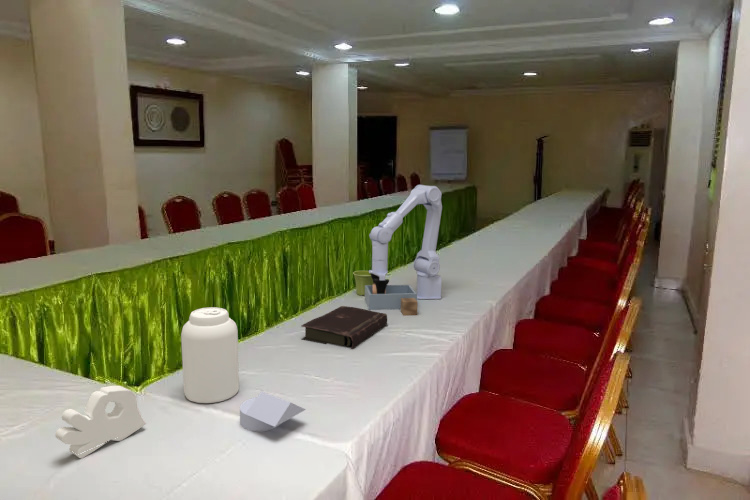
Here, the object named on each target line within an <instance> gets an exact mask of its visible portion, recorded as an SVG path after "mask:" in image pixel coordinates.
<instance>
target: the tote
mask: <svg viewBox="0 0 750 500" xmlns="http://www.w3.org/2000/svg"><path fill="white" fill-rule="evenodd" d="M372 287H373V285H365V295H364V302H365V304H366V306H367V310H370V311H373V310H375V311H376V310H401V298H415V299H416V301H417V302H418V299H417V291H416V290H414V287H412V286H411V284H387V286H386V294H372Z"/></svg>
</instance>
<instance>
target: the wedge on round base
mask: <svg viewBox="0 0 750 500" xmlns="http://www.w3.org/2000/svg"><path fill="white" fill-rule="evenodd" d="M304 411H306V408H303V407H302V406H299V405H298V404H294V403H292V402H290V401H288V400H286V399H282V398H280V397H278V396H275V395H273V394H269V393H268V392H264V391H262V390H261V391H260V393H259V394H258V395H257V396H255V397H252V398H249V399H246V400H245V401H243V402H242V403H241V404H240V406H239V423H240V426H241V427H242V428H243V429H244V430H247V431H252V432H267V431H271V430H273V429H275V428H278V427H279V426H280V425H282V424H283V423H285V422H286V421H288V420H290V419H292V418H293V417H296V416H297V415H298V414H301V413H302V412H304Z"/></svg>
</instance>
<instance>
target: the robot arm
mask: <svg viewBox="0 0 750 500" xmlns="http://www.w3.org/2000/svg"><path fill="white" fill-rule="evenodd" d="M442 204H443V203H442V191H441V190H440V189H439V187H437V186H436V185H424V184H417V185H416V186H414V188H413V189H412V190H411V191H410V194H409V195H408V197H407V198H406V199H405V200H404V202H403V203H402V204H401V205H400V206H399V208H398V209H397V210H396V211H391V212H388V213H387V214H386V217H385V218H384V219H383V220H382V221H381V222H379V224H378V226H374V227H373V228H372V229H371V231H370V233H369V236H368V237H369V239H370V241H371V245H372V247H371V248H372V249H371V251H372V252H371V253H372V254H371V256H372V257H371V269H369V270H368V271H369V273H371V274H370V275H371V277H372V280H373V284H374V283H375V285H376V290H377V294H385V290H386V286H387V285H389V283H390V279H388V278H387V279H386V276H387V275H388V273H389V271H388V258H389V257H388V256H389V253H388V252H389V242H391V240H392V236H393V234H394V232H396V230H397V229H398V228H399V227H400V226H401V225H402V224H403V222H404V220H403V218H404V217H406V215H408V214H409V213H410V212H411V211H412V210H413V209H414V208H415V207H416V206H418V205H423V206H424V208H425V209H426V215H425V216H426V218H425V224H424V232H423V237H422V238H423V239H422V244H421V249H420V250H419V251H418V252H417V253H416V257H415V259H414V261H413V268H414V270H415V271H416V272H415V273H416V293H417V300H441V299H442V277H441V275H440V274H438V273H440V272H439V271H440V268H441V267H440V266H441V265H440V256H439V254H437V252H436V249H437V243H438V238H439V230H440V225H441V216H442V211H443V205H442Z"/></svg>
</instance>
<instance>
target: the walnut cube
mask: <svg viewBox="0 0 750 500" xmlns="http://www.w3.org/2000/svg"><path fill="white" fill-rule="evenodd" d="M418 304H419V303H418V300H417V301H416V299H415V298H401V309H400V313H401V315H402V316H403V317H404V316H412V317H413V316H418Z"/></svg>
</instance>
